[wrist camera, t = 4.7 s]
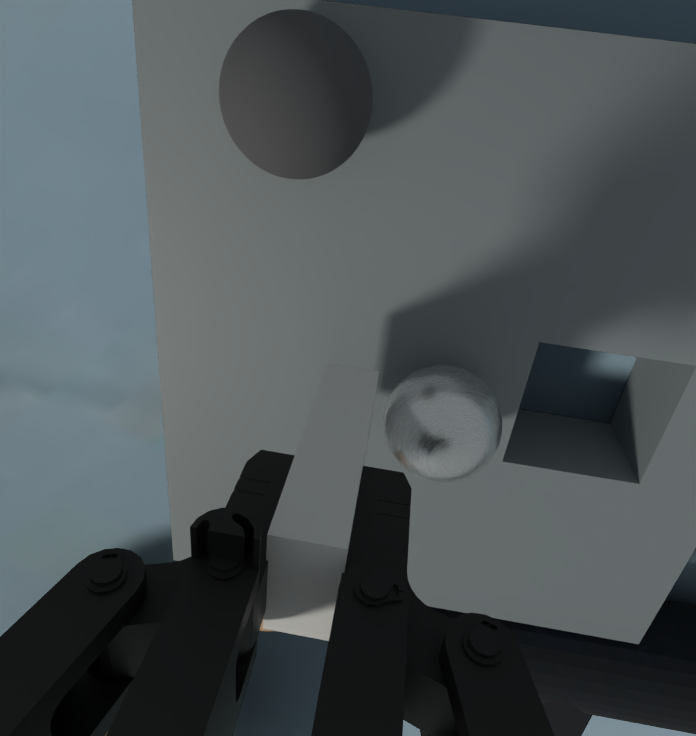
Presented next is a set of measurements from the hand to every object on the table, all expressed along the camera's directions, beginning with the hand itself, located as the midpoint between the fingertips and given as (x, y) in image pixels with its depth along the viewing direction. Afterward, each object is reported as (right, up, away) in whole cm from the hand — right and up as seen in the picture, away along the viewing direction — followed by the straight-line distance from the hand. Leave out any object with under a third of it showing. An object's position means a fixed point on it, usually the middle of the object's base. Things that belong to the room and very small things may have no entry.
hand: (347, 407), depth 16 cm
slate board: (+4, +2, +4) cm, 6 cm away
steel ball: (+3, -1, -2) cm, 4 cm away
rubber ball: (-1, +8, -2) cm, 8 cm away
